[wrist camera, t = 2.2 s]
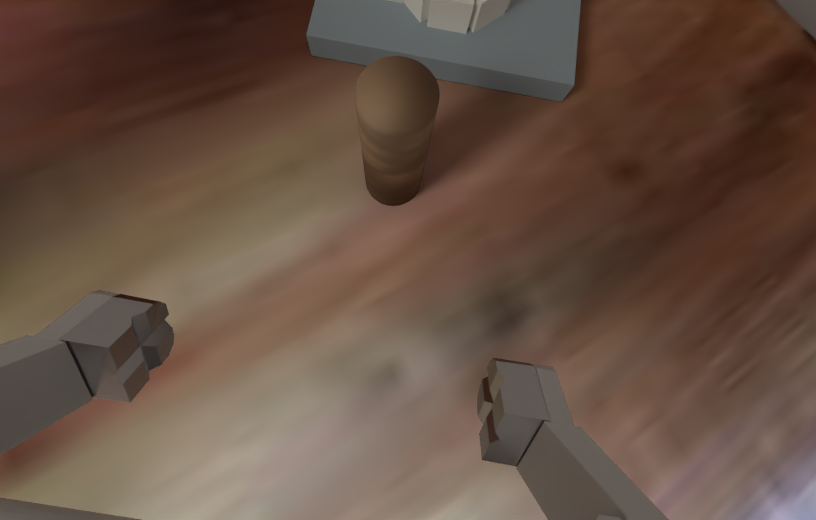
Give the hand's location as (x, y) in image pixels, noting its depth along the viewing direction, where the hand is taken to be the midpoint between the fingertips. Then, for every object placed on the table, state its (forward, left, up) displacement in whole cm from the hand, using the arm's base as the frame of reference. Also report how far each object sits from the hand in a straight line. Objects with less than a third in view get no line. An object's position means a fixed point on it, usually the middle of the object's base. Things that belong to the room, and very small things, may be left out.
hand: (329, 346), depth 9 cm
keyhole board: (+2, +28, -16) cm, 32 cm away
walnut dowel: (0, +12, -16) cm, 20 cm away
